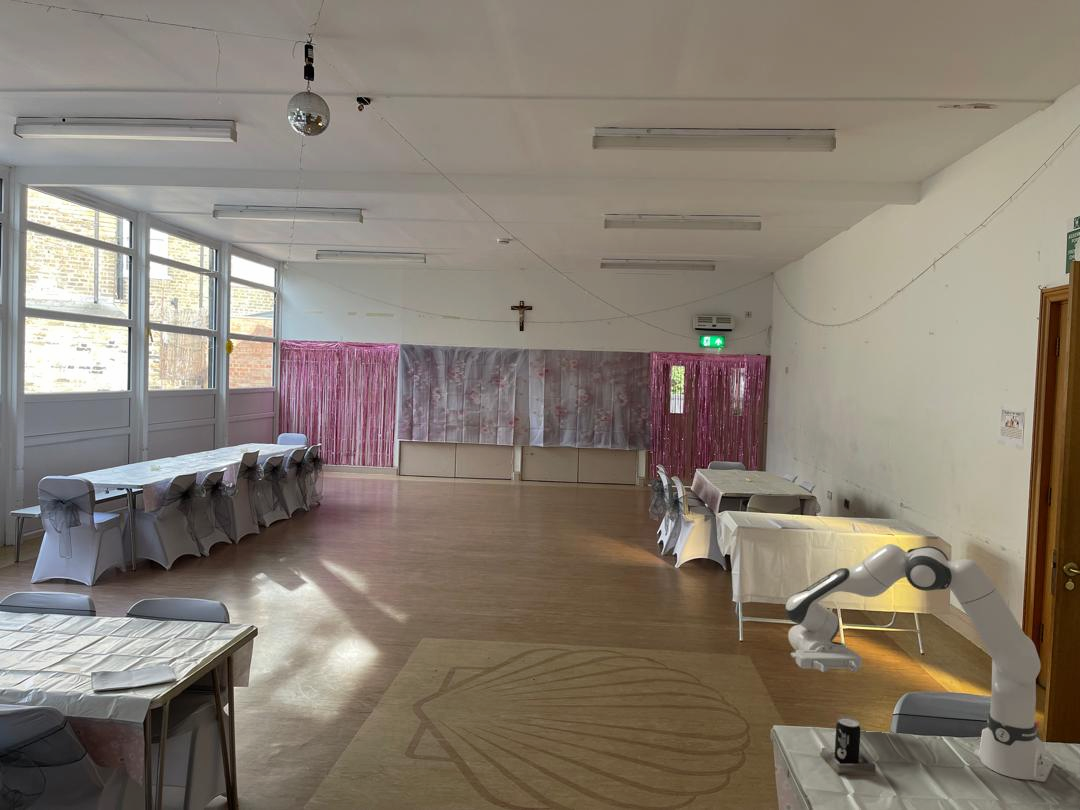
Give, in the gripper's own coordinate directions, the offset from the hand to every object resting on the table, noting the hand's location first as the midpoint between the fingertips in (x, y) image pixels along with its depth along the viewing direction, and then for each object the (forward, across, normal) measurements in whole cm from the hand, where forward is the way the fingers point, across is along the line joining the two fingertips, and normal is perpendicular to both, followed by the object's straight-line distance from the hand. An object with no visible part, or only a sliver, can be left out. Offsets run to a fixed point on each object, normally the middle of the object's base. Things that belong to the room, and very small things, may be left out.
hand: (840, 669), depth 224 cm
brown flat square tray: (+12, -3, +24) cm, 26 cm away
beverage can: (+11, -3, +23) cm, 26 cm away
